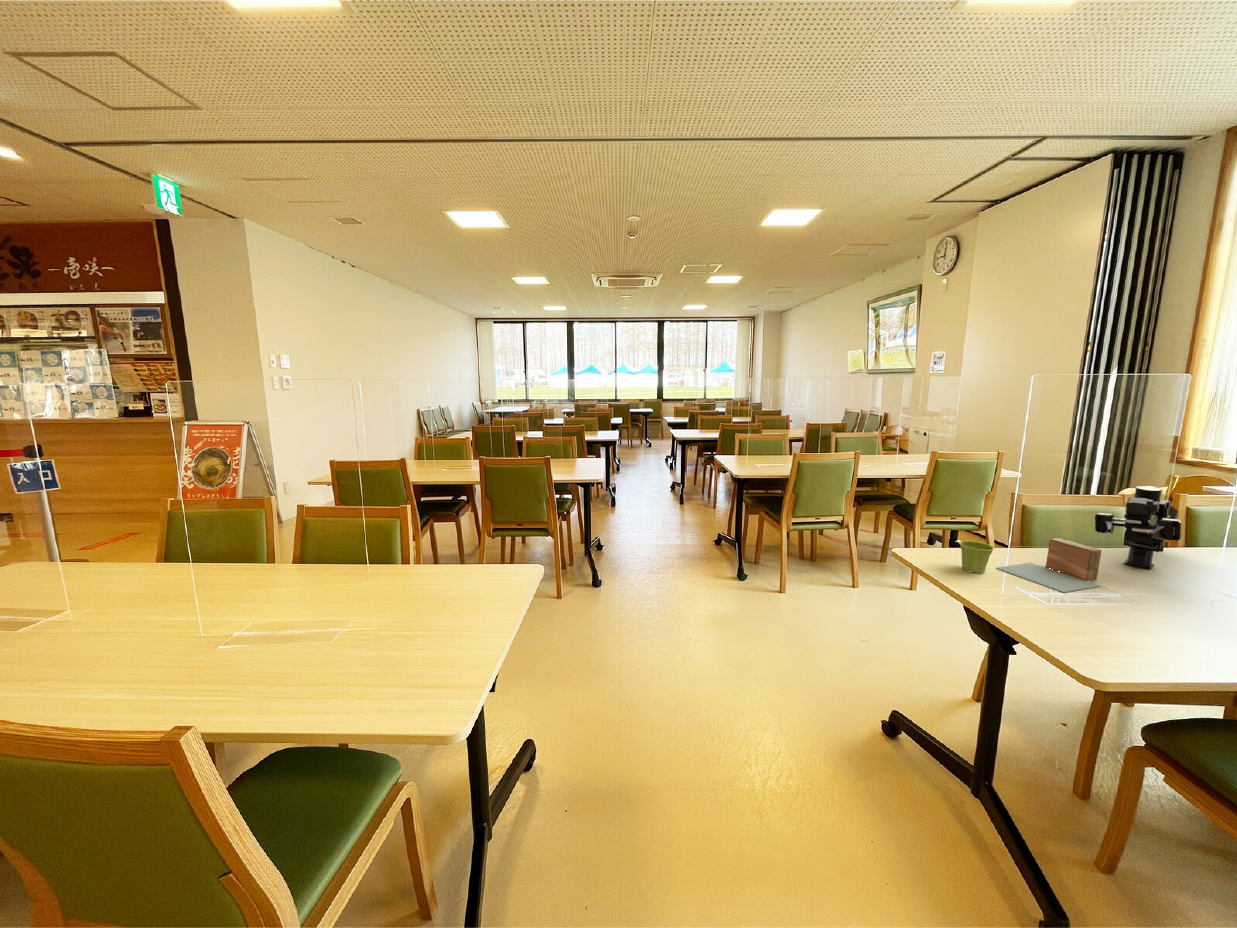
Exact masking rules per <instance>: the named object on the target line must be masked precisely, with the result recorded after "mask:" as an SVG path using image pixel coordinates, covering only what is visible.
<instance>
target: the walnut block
mask: <svg viewBox="0 0 1237 928" xmlns="http://www.w3.org/2000/svg"><path fill="white" fill-rule="evenodd" d="M1046 556H1047V557H1046V564H1045V567H1046V568H1051V569H1053V570H1055V571H1060V572H1061V573H1064V574H1067V575H1070V576H1073V577H1076V578H1079V579H1082V580H1085V581H1088V582H1091V581H1092V582H1093V581H1097V578H1098V574H1099V573H1098V572H1099V568H1100V561H1101V558H1102V557H1101V556H1102V549H1100V548H1097V547H1093V546H1089V545H1084V544H1081V543H1077V542H1075V541H1071V540H1066V539H1064V538H1059V537H1056V538H1050V539H1049V544H1048V550H1047V555H1046Z"/></svg>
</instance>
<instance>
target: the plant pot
mask: <svg viewBox="0 0 1237 928" xmlns="http://www.w3.org/2000/svg"><path fill="white" fill-rule="evenodd" d="M958 545H960V549H961V568H962V569H963V571H967V572H969V571H971V572H970V573H977V574H984V573H985V572H986V568H987V565H988V562H989V560H990V557H991V554H992V553H993V551H994V550H995V547H994V546H992V545H991V544H987V543H985V542H984V543H983V542H979V541H973V540H961V541H959V542H958ZM983 572H984V573H983Z"/></svg>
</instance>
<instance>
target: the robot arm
mask: <svg viewBox="0 0 1237 928" xmlns="http://www.w3.org/2000/svg"><path fill="white" fill-rule="evenodd" d="M1162 492H1163V489H1162V488H1160V487H1159V488H1158V487H1156V486H1154V485H1153V486H1152V485H1143V486H1141V485H1140V486H1138V485H1136V486H1135V491H1134V497H1132V496H1131V497H1128V498H1127V501H1126V503H1125V508H1126V510H1125V513H1124V515H1123V516H1124V518H1115V515H1114V514H1113V513H1106V512H1105V513H1104V512H1098V513H1096V514H1095V515H1094V525H1095V526H1094V530H1095V532H1097V533H1099V534H1109V535H1113V533H1114V531H1115V530H1114V528H1115V527H1123V528H1125V530H1124V536H1123V546H1124V547H1129V549H1128V555H1127V558H1126V559H1125V561H1123V564H1124V565H1128V566H1131V565H1132V567H1137V568H1141V569H1146V570H1152V569H1153V568H1154V566H1155V564H1154V563H1153V558H1154V555H1155V552H1156V553H1163V552H1164V548H1165V540H1166V541H1175V542H1178V541H1180V540H1181V539H1182V536H1183V535H1182V534H1183V533H1182V531H1183V530H1182V527H1183V526H1182V523H1183V522H1182V520H1180V519H1179V511H1178V510H1177V509H1176V508H1175V507H1174V506H1173V505H1172V501H1170V500H1168V499H1162V498H1161V496H1162Z"/></svg>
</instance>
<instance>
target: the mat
mask: <svg viewBox="0 0 1237 928" xmlns="http://www.w3.org/2000/svg"><path fill="white" fill-rule="evenodd" d="M996 568H997V570H999V571H1002V572H1005V573H1008V574H1010V575H1012V576H1015V577H1018V578H1021V579H1024V580H1027V581H1029V582H1032V583H1036V584H1038V585H1039V586H1043V585H1044V586H1043V587H1046V588H1048V587H1049V589H1051V588H1053V589H1052V590H1054V589H1055V591H1057V592H1059V593H1063V594H1066V593H1073V592H1077V591H1083V590H1089V589H1095V588H1099V587H1102V585H1100V584H1097V583H1094V582H1091V581H1085V580H1082V579H1079V578H1076V577H1073V576H1070V575H1067V574H1064V573H1061V572H1058V571H1055V570H1052V569H1049V568H1046V566H1043V565H1040V564H1036V563H1034V562H1026V563H1018V564H1011V565H1006V566H1005V565H1004V566H998V567H996Z"/></svg>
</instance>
